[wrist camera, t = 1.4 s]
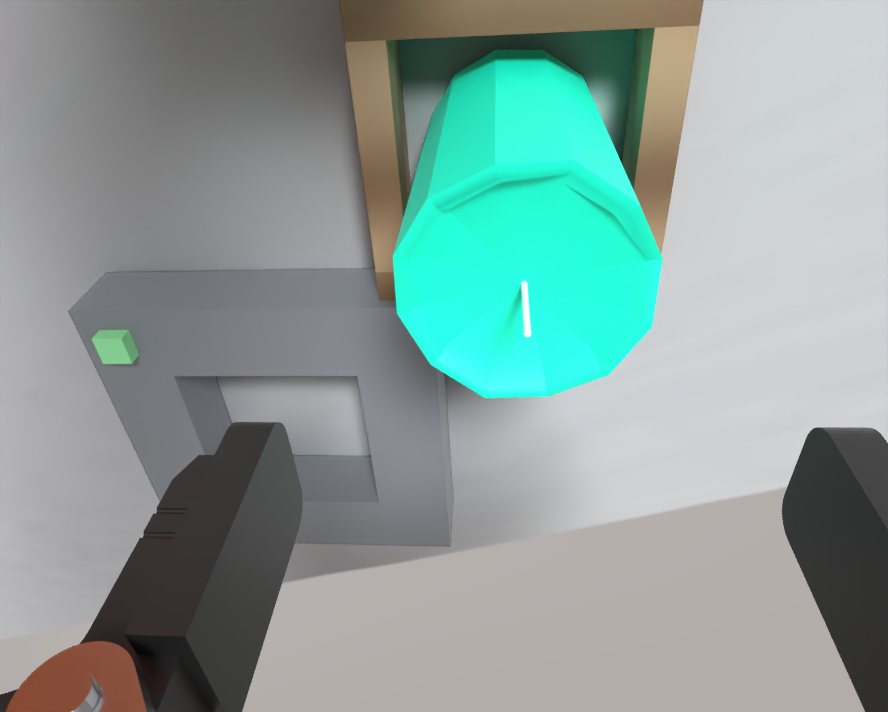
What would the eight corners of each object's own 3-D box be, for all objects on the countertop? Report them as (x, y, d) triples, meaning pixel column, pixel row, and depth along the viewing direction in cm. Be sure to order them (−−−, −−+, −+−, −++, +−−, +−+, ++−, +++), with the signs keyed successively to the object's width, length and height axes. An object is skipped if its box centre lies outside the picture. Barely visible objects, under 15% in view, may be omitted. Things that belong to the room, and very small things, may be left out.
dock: (106, 272, 27) (59, 319, 24) (437, 267, 26) (430, 316, 23) (200, 495, 35) (174, 550, 32) (453, 499, 34) (449, 556, 31)
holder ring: (354, -17, 20) (338, -5, 18) (685, -35, 19) (707, -25, 17) (388, 267, 26) (379, 300, 24) (641, 263, 25) (653, 297, 23)
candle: (563, 236, 24) (607, 466, 15) (412, 195, 24) (355, 406, 14) (630, 76, 21) (744, 242, 11) (454, 22, 20) (416, 149, 11)
